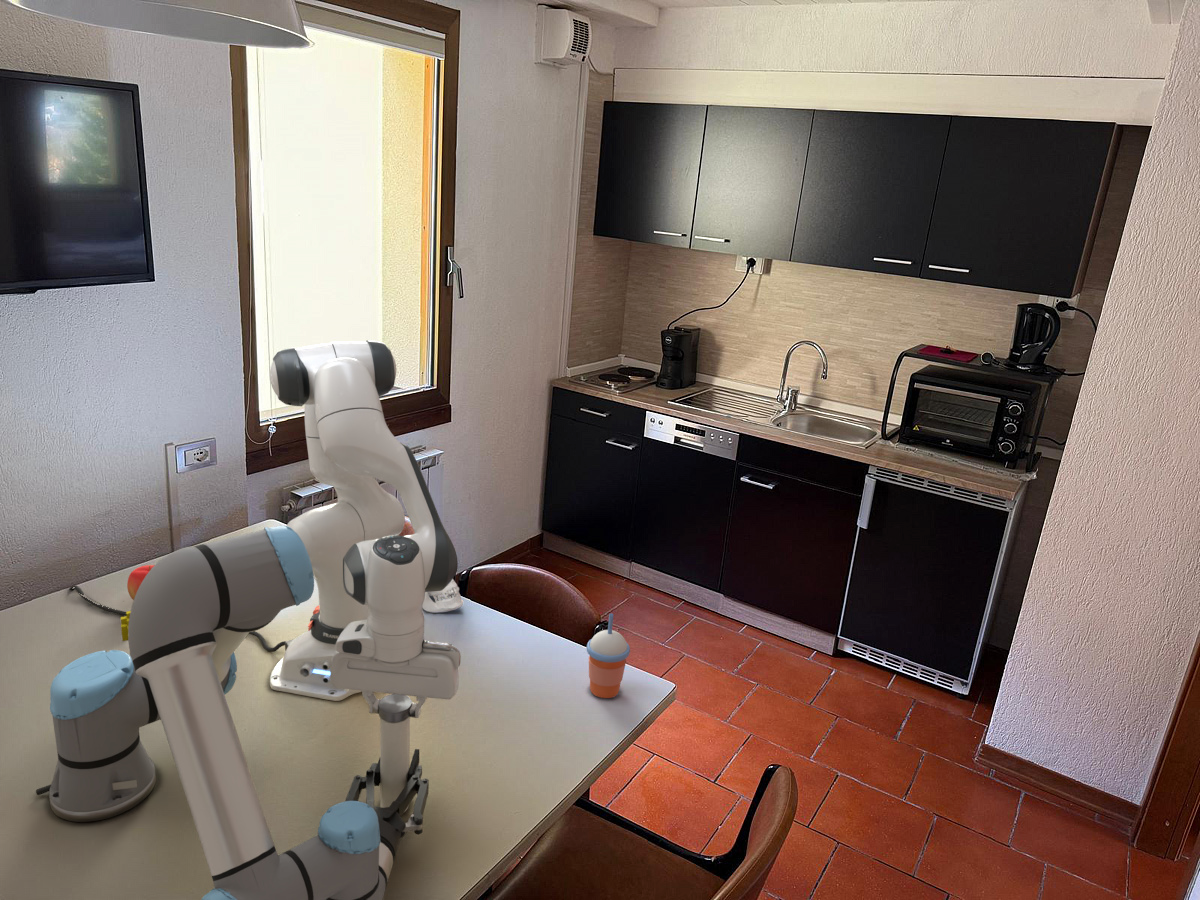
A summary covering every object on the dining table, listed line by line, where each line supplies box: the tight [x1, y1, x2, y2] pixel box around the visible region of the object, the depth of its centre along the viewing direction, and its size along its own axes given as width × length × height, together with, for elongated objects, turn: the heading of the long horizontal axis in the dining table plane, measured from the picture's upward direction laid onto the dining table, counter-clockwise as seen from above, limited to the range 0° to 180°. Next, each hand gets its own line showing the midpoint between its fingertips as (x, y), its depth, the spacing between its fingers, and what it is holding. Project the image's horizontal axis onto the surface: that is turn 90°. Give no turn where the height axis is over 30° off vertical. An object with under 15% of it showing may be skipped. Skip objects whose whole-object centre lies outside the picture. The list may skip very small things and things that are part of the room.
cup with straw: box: [586, 613, 631, 699], centre depth 179 cm, size 9×9×18 cm
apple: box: [126, 564, 156, 601], centre depth 199 cm, size 10×10×10 cm
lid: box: [378, 694, 413, 722], centre depth 138 cm, size 5×5×2 cm
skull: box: [422, 573, 465, 614], centre depth 211 cm, size 13×22×16 cm, turn 67°
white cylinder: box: [379, 717, 411, 813], centre depth 141 cm, size 5×5×20 cm
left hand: (401, 755), depth 147 cm, fingers closed on white cylinder, 5 cm apart
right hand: (395, 713), depth 139 cm, fingers closed on lid, 5 cm apart
